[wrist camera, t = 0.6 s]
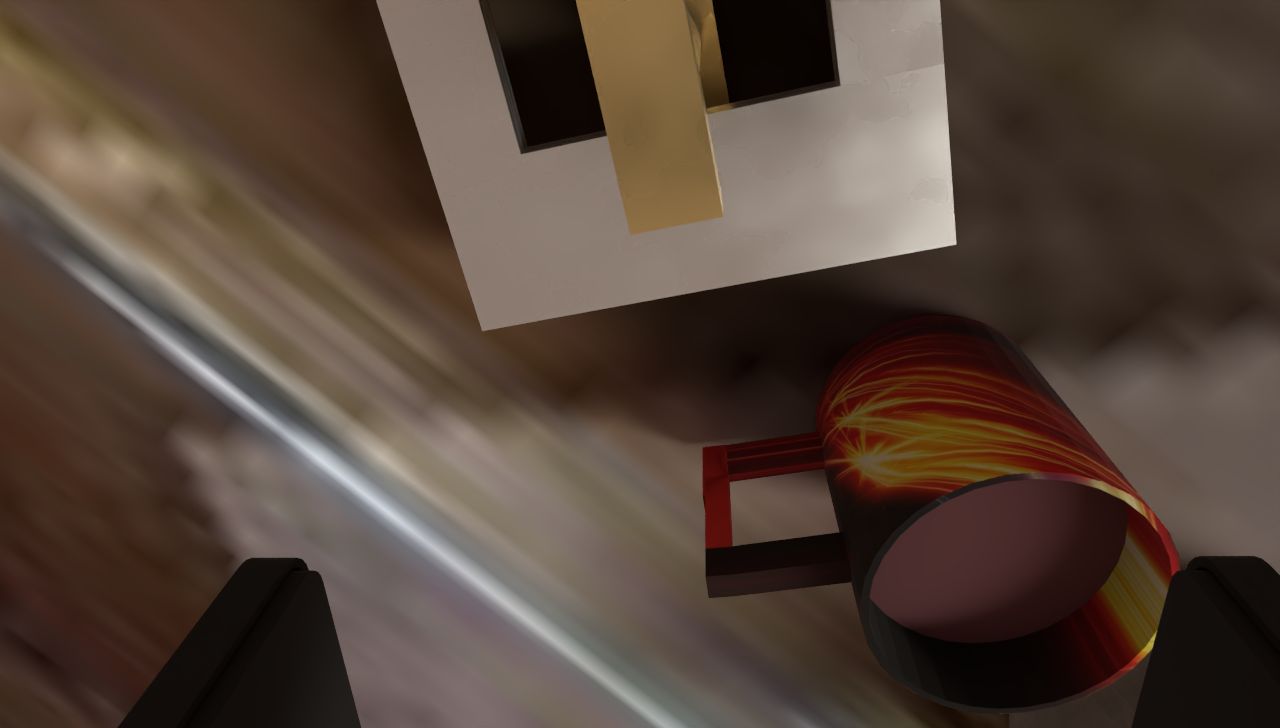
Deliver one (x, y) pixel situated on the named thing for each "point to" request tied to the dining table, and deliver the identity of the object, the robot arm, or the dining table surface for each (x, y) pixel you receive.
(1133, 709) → the flask
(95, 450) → the dining table surface
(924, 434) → the mug
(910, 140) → the white slotted holder
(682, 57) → the tall wooden post
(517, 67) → the dining table surface
